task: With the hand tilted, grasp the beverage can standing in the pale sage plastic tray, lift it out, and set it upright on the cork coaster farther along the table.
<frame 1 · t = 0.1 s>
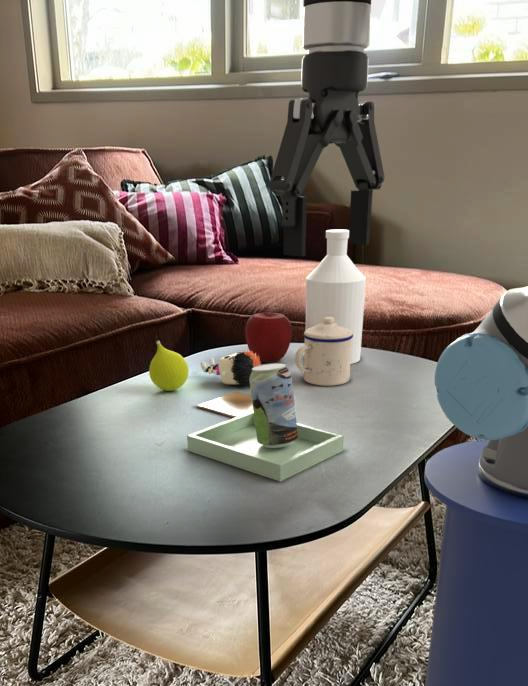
hand: (328, 249, 95), 29 cm above the table, tool pointing down, fingers open, 13 cm apart
figurine: (230, 382, 144), on the table
apple: (268, 361, 157), on the table
teacup with lid: (320, 382, 144), on the table
beverage can: (273, 445, 113), resting on tray
ornament: (169, 390, 140), on the table
tray: (265, 450, 112), on the table
coaster: (238, 406, 131), on the table
bottle: (332, 359, 158), on the table
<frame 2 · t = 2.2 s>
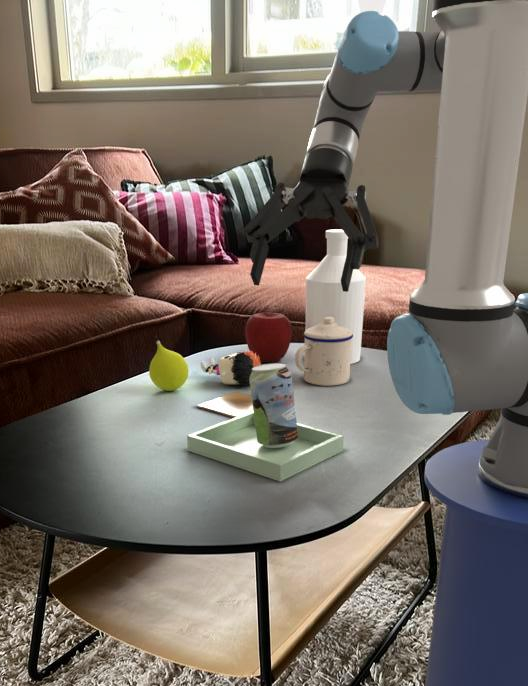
hand: (298, 283, 111), 22 cm above the table, tool tilted 45°, fingers open, 13 cm apart
nothing on the table moved.
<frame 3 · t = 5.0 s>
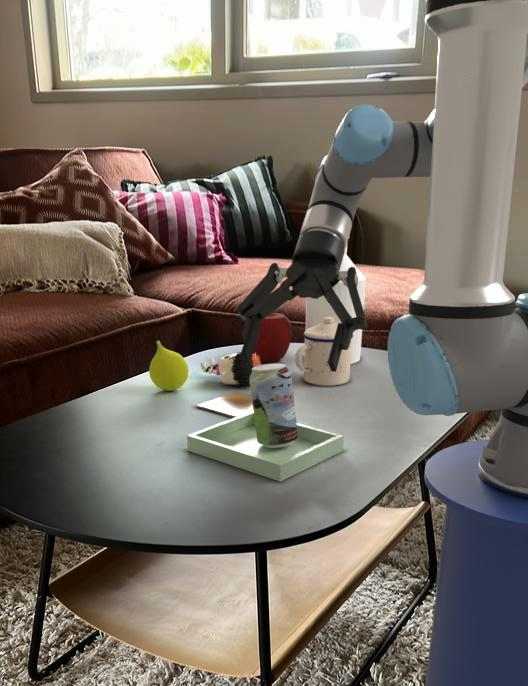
hand: (287, 362, 113), 11 cm above the table, tool tilted 45°, fingers open, 13 cm apart
nothing on the table moved.
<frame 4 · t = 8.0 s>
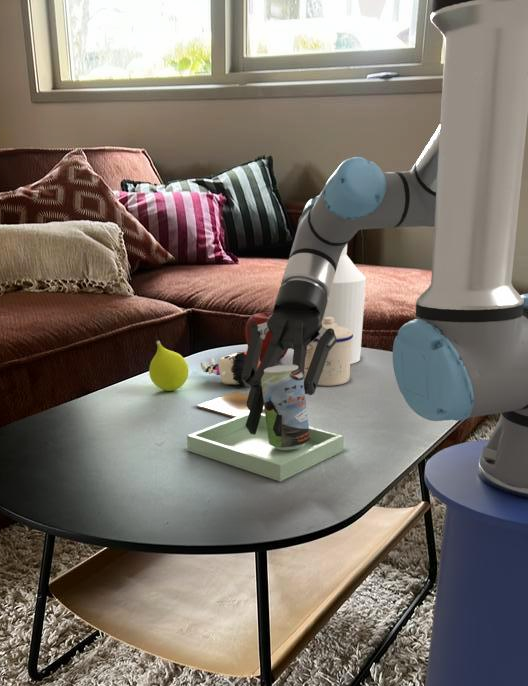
hand: (264, 431, 108), 4 cm above the table, tool tilted 45°, fingers closed on beverage can, 3 cm apart
beverage can: (285, 447, 112), resting on tray, touching gripper
everything else where it was.
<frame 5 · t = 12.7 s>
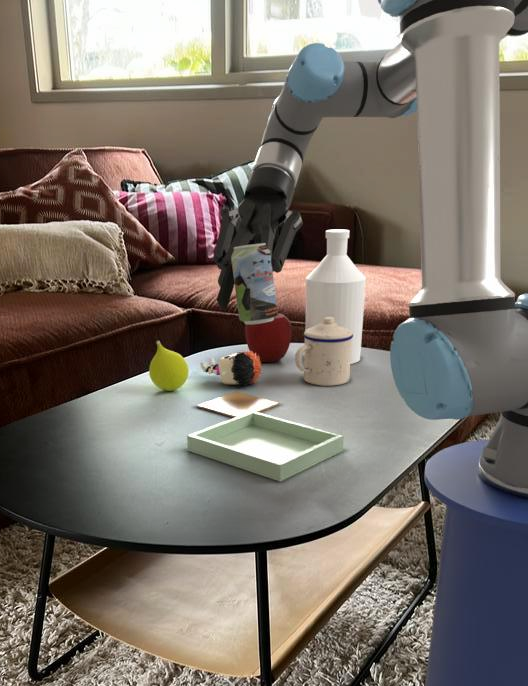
hand: (233, 305, 116), 18 cm above the table, tool tilted 45°, fingers closed on beverage can, 3 cm apart
beverage can: (254, 324, 120), point 15 cm above the table, touching gripper
everything else where it was.
when the fingers open (4 cm above the table, at t = 17.3 s): beverage can stays where it is, resting on coaster.
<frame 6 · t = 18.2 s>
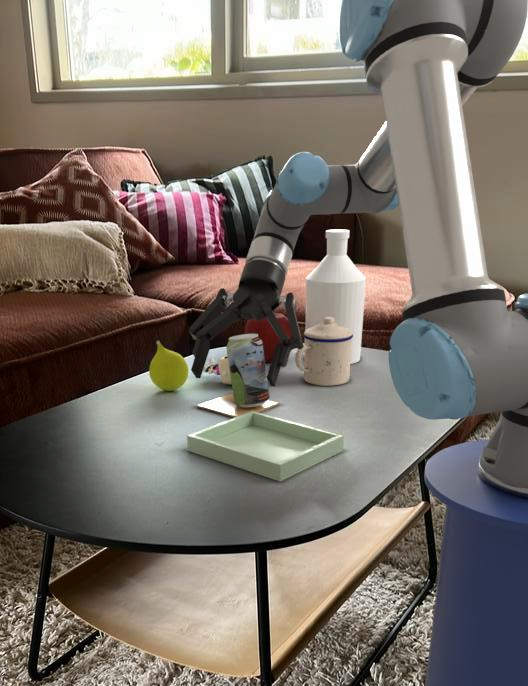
hand: (232, 378, 126), 6 cm above the table, tool tilted 45°, fingers open, 13 cm apart
beverage can: (248, 406, 130), resting on coaster
everything else where it was.
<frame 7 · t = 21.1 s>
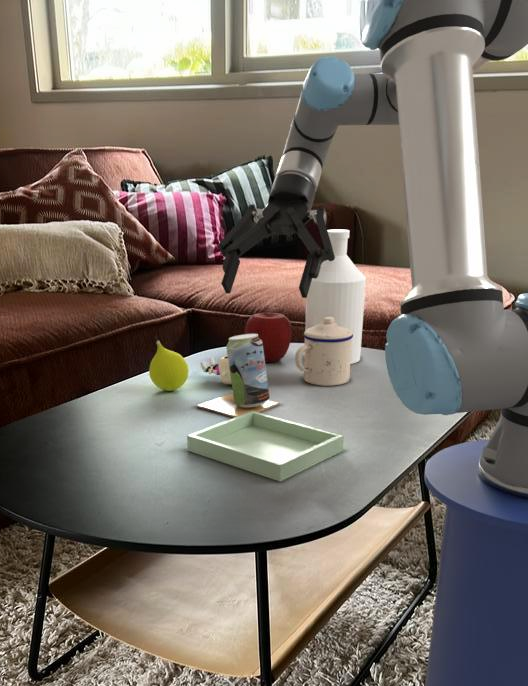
hand: (263, 290, 125), 19 cm above the table, tool tilted 45°, fingers open, 13 cm apart
nothing on the table moved.
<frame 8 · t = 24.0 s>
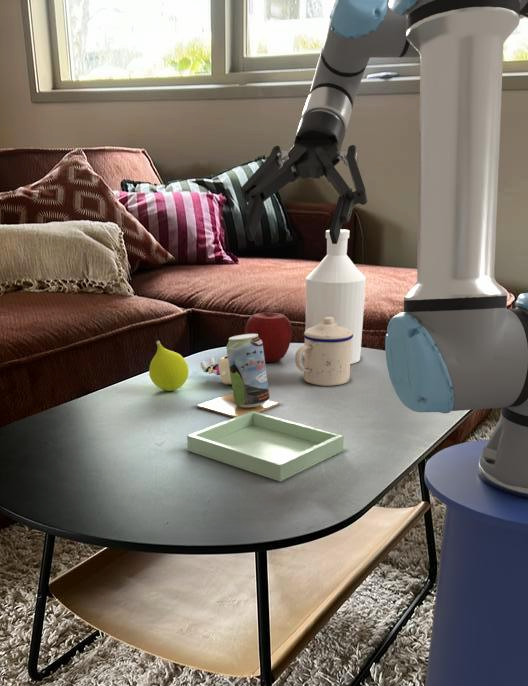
hand: (290, 236, 116), 28 cm above the table, tool tilted 45°, fingers open, 13 cm apart
nothing on the table moved.
at the end: beverage can inside the target area on the coaster (2.0 cm from its centre), point 0.2 cm above the coaster's base; beverage can tilted 0°; beverage can touching coaster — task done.
